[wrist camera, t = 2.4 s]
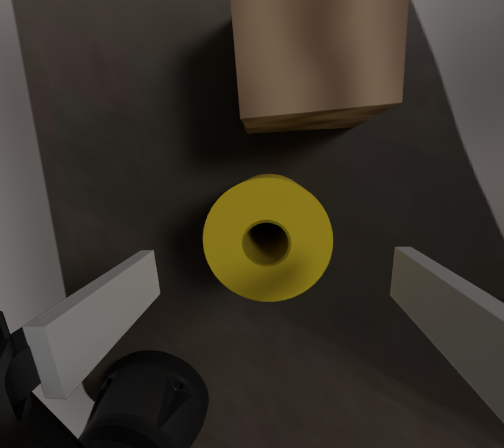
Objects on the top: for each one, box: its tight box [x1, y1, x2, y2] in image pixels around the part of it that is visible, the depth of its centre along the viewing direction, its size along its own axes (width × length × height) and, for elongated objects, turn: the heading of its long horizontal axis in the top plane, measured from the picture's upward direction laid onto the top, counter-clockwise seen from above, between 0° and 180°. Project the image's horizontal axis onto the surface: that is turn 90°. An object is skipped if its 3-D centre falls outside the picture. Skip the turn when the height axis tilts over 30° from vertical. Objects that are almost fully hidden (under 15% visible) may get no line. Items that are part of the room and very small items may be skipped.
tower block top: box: [231, 0, 409, 128], centre depth 17 cm, size 11×11×4 cm
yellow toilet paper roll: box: [203, 174, 333, 302], centre depth 23 cm, size 10×10×9 cm
